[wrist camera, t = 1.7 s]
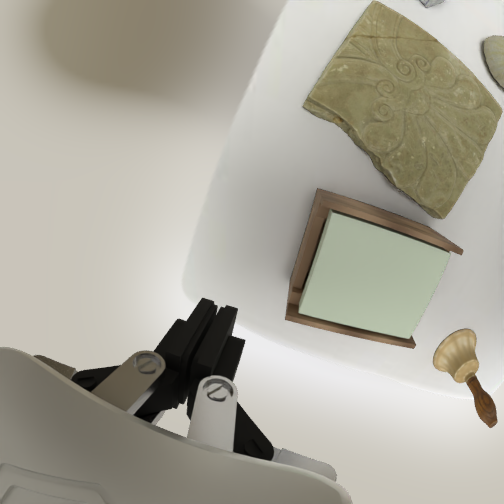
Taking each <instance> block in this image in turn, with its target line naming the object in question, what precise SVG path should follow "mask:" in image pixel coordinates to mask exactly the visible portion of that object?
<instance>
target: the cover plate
mask: <svg viewBox="0 0 504 504" xmlns="http://www.w3.org/2000/svg"><path fill="white" fill-rule="evenodd" d="M450 255H451V253H449V252H448V251H447V250H446V249H444V248H443V247H440V246H437V245H435V244H432V243H430V242H427V241H424V240H422V239H419V238H417V237H414V236H411V235H408V234H406V233H403V232H400V231H397V230H394V229H392V228H389V227H386V226H383V225H380V224H377V223H374V222H371V221H368V220H365V219H362V218H359V217H356V216H353V215H350V214H346V213H343V212H340V211H337V210H334V209H330V211H329V214H328V217H327V221H326V224H325V227H324V230H323V234H322V237H321V240H320V243H319V246H318V249H317V252H316V255H315V258H314V261H313V264H312V267H311V270H310V273H309V276H308V279H307V282H306V285H305V288H304V290H303V293H302V296H301V299H300V302H299V313H300V314H304V315H308V316H312V317H316V318H320V319H324V320H328V321H332V322H336V323H340V324H344V325H348V326H353V327H357V328H361V329H365V330H370V331H374V332H379V333H383V334H388V335H393V336H397V337H402V338H407V339H409V338H410V337H411V335H412V333H413V331H414V330H415V328H416V326H417V324H418V323H419V321H420V319H421V317H422V315H423V313H424V312H425V310H426V308H427V306H428V304H429V302H430V300H431V298H432V296H433V294H434V292H435V290H436V288H437V285H438V283H439V281H440V279H441V277H442V274H443V272H444V270H445V268H446V265H447V263H448V260H449V258H450Z"/></svg>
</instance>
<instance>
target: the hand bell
mask: <svg viewBox="0 0 504 504" xmlns="http://www.w3.org/2000/svg"><path fill="white" fill-rule="evenodd" d="M475 347H476V335H475V333H474V332H473V331H472V330H470V329H462V330H458V331H456V332H454V333H452V334H451V335H449V336H448V337H447V338H446V339H445V340H443V342H442V343H441V344H440V345H439V347H438V348H437V350H436V352H435V354H434V357H433V364H434V366H435V368H436V369H438V370H439V371H442V372H448V373H449V374H450V375H451V376H452V377H453V379H454V380H455V381H456V382H457V383H463V382H466V383H467V385H468V386H469V388H470V390H471V392H472V394H473V396H474V402H475V407H476V411H477V413H478V415H479V417H480V419H481V420H482V421H483V422H484V423H486V424H487V425H488V427H489V428H492V427H493V426H495V425H496V423H497V416H496V407H495V404H494V402H493V400H492V398H491V397H490V395H489V394H488V393H487V392H485V391H484V390H483V389H482V387H481V385H480V383H479V381H478V380H477V377H476V376H475V373H476V372H477V370H478V367H479V362H478V360H477V357H476V354H475Z"/></svg>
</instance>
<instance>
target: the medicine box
mask: <svg viewBox="0 0 504 504" xmlns="http://www.w3.org/2000/svg"><path fill="white" fill-rule="evenodd" d="M420 1H421V2H422V3H423V4H424V5H425V6H426V7H430V6H433V5H436V4H438V3H441V2H444V1H445V0H420Z"/></svg>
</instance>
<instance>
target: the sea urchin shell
mask: <svg viewBox="0 0 504 504" xmlns="http://www.w3.org/2000/svg"><path fill="white" fill-rule="evenodd" d="M484 53H485V57H486V62H487V64H488V66H489V69H490V72H491V73H492V75H493V77H494V78H495V79H496V80H497V82H498V83H499V84H500V85H501V86H502V87H503V88H504V36H496V35H495V36H494V35H493V36H491V37H488V38H486V40H485V41H484Z"/></svg>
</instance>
